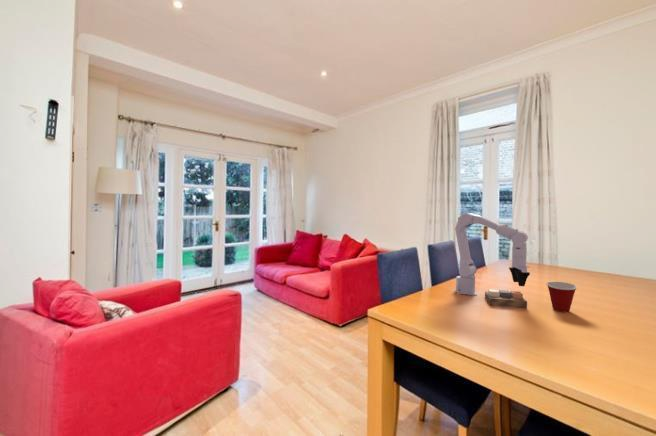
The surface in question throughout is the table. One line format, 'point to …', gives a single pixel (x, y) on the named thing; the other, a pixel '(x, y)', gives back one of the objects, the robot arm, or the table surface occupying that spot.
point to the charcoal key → (505, 294)
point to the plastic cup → (561, 295)
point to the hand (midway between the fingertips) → (518, 284)
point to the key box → (506, 302)
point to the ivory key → (493, 293)
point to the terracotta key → (516, 294)
